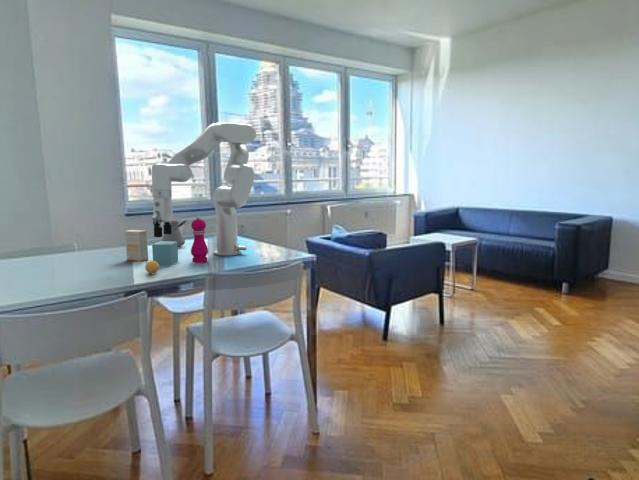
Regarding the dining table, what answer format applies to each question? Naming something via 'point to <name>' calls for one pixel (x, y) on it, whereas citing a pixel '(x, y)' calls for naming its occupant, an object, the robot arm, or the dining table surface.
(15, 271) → the dining table surface
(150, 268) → the ball
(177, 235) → the coffee pot
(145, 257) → the supplement box
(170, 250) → the teal square block
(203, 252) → the pepper mill
